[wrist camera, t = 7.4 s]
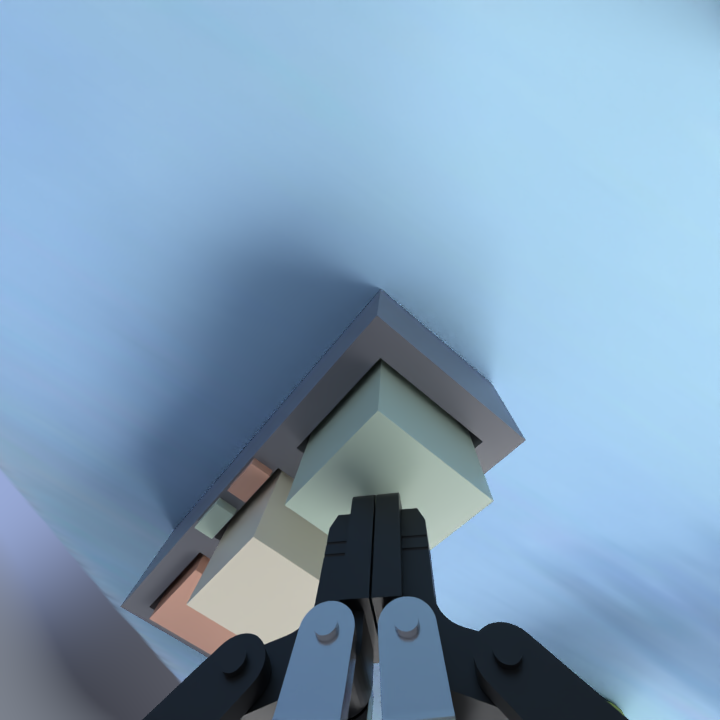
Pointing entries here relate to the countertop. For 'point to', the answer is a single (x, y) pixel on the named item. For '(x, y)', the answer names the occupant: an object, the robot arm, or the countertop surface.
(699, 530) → the countertop surface
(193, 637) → the key terracotta
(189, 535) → the grey long block
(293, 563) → the key sand
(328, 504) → the key sage
